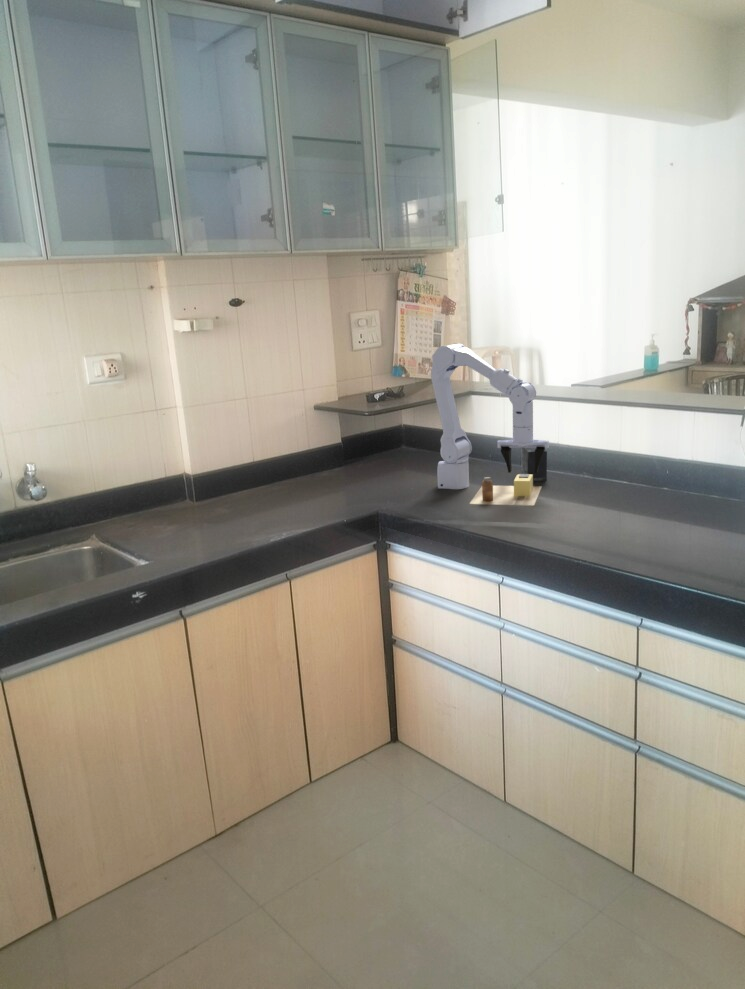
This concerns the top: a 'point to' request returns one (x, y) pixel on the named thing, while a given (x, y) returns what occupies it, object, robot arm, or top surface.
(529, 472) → the small box
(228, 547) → the top surface
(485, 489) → the brown jar
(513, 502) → the plywood panel
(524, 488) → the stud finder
